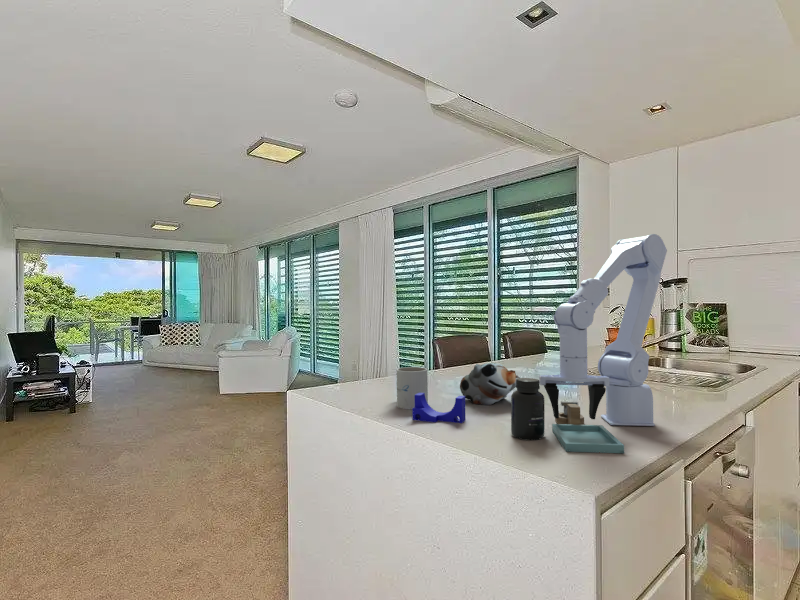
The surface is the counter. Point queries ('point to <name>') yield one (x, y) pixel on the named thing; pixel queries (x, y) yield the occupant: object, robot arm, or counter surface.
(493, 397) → the lucky cat figurine
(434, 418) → the blue curved cradle
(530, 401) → the supplement bottle
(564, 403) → the grey cylinder and bar
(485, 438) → the counter surface
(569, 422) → the ring
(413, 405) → the mug
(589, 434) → the tray
